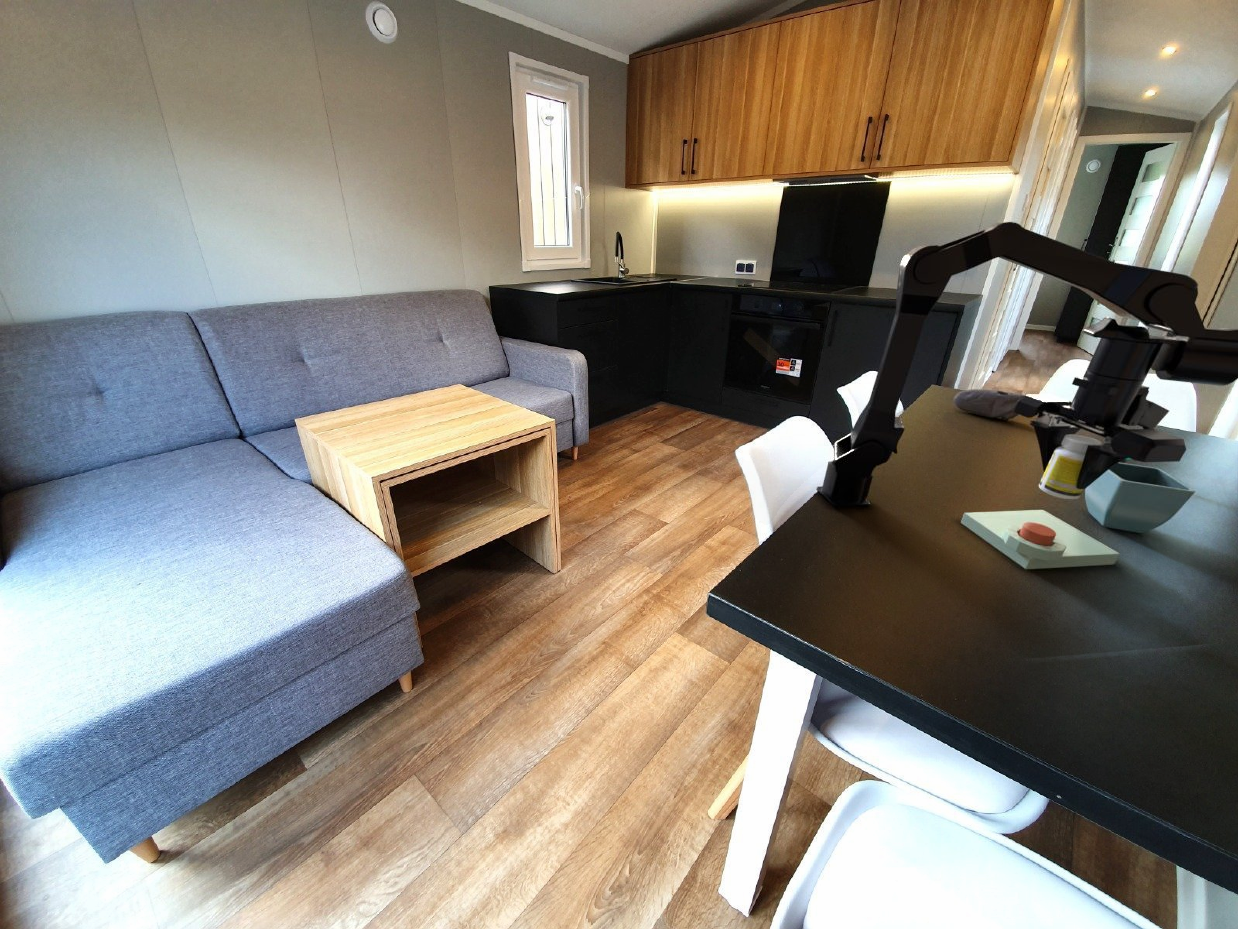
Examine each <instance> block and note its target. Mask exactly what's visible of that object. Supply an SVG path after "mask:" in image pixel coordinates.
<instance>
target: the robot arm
mask: <svg viewBox="0 0 1238 929" xmlns="http://www.w3.org/2000/svg"><path fill="white" fill-rule="evenodd" d="M997 258H1000V259H1002V260H1004V261H1007V262H1009V263H1012V264H1015V265H1018V266H1020V267H1023V268H1025V269H1027V270H1031V271H1033V272H1035V273H1038V274H1041V275H1043V276H1045V277H1048V278H1051V279H1053V280H1056V281H1059V282H1061V283H1064V284H1066V285H1068V286H1071V287H1073V288H1076V289H1079V290H1081V291H1082V292H1084V293H1085V294H1087V295H1088V296H1090V297H1091V298H1092V299H1093V300H1094V301H1096V302H1097V303H1098V304H1100V305H1101V306H1103V307H1105V309H1108V310H1110V312H1111V313H1114V314H1115V315H1117V316H1118V317H1121V318H1125V319H1129V320H1133V321H1136V322H1140V323H1141V324H1142V325H1144V326H1142V325H1141V326H1139V325H1127V324H1118V322H1117V319H1115V318H1112V317H1108V316H1106V317H1103V318H1102V319H1101V320H1099V321H1098V322H1096V323H1093V324H1091V325H1088V326H1086V327H1085V328H1082V333H1083V335H1087V336H1090V337H1092V338H1097V339H1099V342H1098V344H1097V346H1096V348H1095V350H1094V353H1093V355H1092V357H1091V359H1090V361H1089V363H1088V365H1087V368H1086V370H1085V372H1084V375H1083V376H1075V377H1074V378H1073V380H1072V383H1071V385H1073V386H1076V387H1078V388H1077V390H1076V392H1075V394H1074V397H1073V399H1072V401H1070V400H1067V399H1064V398H1061V397H1058V396H1056V395H1053V394H1024V397H1022V398H1021V399H1019V400H1018V401H1017V403H1016V406H1015V408H1014V411H1013V412H1014V413H1017V414H1019V415H1018V416H1022V417H1025V418H1027V419H1032V418H1034V417H1036V419H1035V420H1031V421H1030V422H1029V425H1030V426H1032V427H1033V430H1034V432H1035V436H1036V440H1037V444H1038V448H1039V453H1040V459H1041V464H1042V470H1043V473H1044V472H1045V470H1046V468H1047V466H1048V464H1049V461H1050V459H1051V457H1052V455H1053V453H1054V451H1055V449H1056V448H1057V447H1060V446H1062V445H1061V443H1062V441H1063V439H1064V437H1065V435H1068V434H1075V435H1077V433H1078V432H1079V431H1081V430H1084V431H1086V432H1089V433H1092V434H1094V435H1097V436H1100V437H1102V438H1105V439H1104V441H1103V442H1102V445H1088V447H1087V450H1086V453H1085V457H1084V460H1083V463H1082V466H1081V470H1080V473H1079V476H1078V480H1077V488H1078V489H1083V490H1085V488H1087V487H1088V486H1089V485H1090V484H1092V483H1093V482H1094V481H1095V480H1097V479H1098V478H1099V477H1100V476H1101V475H1103V474H1104V473H1105V472H1106V471H1107V470H1109V469H1110V468H1111V467H1113V466H1114V465H1116V464H1117V463H1119V462H1120V461H1122V460H1124V459H1126V458H1130V459H1131V460H1133V461H1136V462H1141V463H1170V462H1172V463H1175V462H1177V463H1179V462H1180V461H1181V459H1182V458H1183V456H1184V455H1185V453H1186V451H1187V444H1186V442H1185V439H1184V438H1181V437H1178V436H1175V435H1173V434H1169V433H1166V432H1163V431H1161V430H1157V429H1156V427H1157V426H1158V425H1159V424H1160V422H1162V421H1163V420H1164V418H1165V417H1166V416H1167V415H1168V414H1169V413H1170V409H1167V408H1166V407H1164V406H1161V405H1159V404H1158V403H1155V402H1154V401H1151V400H1149V399H1147V397H1148V395H1149V394H1150V390H1149V389H1150V387H1149V386H1145V385H1143V384H1144V382H1145V380H1146V379H1147V376H1148V375H1149V372H1150V370H1152V371H1154V372H1155V376H1156V377H1157V378H1158V379H1160V380H1162V381H1172V382H1180V383H1181V382H1182V383H1191V384H1200V385H1209V386H1218V387H1224V386H1227V385H1230V384H1232V383H1234V382H1236V381H1237V380H1238V327H1220V328H1219V327H1218V328H1216V327H1205V325H1204V322H1203V320H1202V317H1201V314H1200V312H1199V310H1198V307H1197V304H1196V302H1197V298H1198V296H1199V288H1198V287H1199V283H1198V282H1197V281H1196V279H1194V278H1193V277H1191V276H1190V275H1187V274H1182V273H1178V272H1173V271H1167V270H1162V269H1155V268H1149V267H1142V266H1137V265H1131V264H1124V263H1119V262H1115V261H1112V260H1109V259H1108V258H1104V257H1102V256H1100V255H1097V254H1093V253H1091V252H1089V251H1086V250H1083V249H1080V248H1077V247H1075V246H1072V245H1070V244H1067V243H1064V242H1062V241H1059V240H1057V239H1054V238H1051V237H1048V236H1045V235H1043V234H1040V233H1039V232H1035V231H1032V230H1030V229H1027V228H1025V227H1023V226H1022V225H1021V224H1019V223H1017V222H1014V221H1004V222H998V223H994V224H992V225H989V226H988V227H987V228H984V229H982V230H980V231H977V232H975V233H972V234H969V235H965V236H963V237H961V238H958V239H954V240H951V241H949V242H946V243H944V244H941V245H939V244H938V245H937V244H923V245H919V246H916V247H914V248H912V249H911V250H910V251H908V252H907V253H906V254H905V255H904V256H903V258H902V260H901V262H900V264H899V268H898V274H897V285H896V300H895V313H894V317H893V320H892V323H891V327H890V329H889V333H888V337H887V340H886V344H885V347H884V350H883V353H882V357H881V360H880V363H879V367H878V370H877V374H876V377H875V380H874V384H873V387H872V390H871V394H870V396H869V400H868V402H867V403H866V405H865V407H864V408H863V410H862V411H861V413H860V414H859V416H858V417H857V420H856V422H855V424H854V425H853V427H852V429H851V432H850V433H849V434H847V435H845V436H844V437H841V438H840V439H838V440H837V441H835V442H834V443H833V460H832V461H831V460H829V461H827V466H826V471H825V474H824V478H823V482H822V486H816V488H815V489H816V491H817V492H818V493H819V494H820V495H821V496H822V497H823V498H824V499H825V500H826V501H827V502H828V503H829V504H830V505H831V506H832V507H834V508H854V507H870V505H871V502H870V501H869V500H868V499H867V498H868V496H869V492H870V488H871V485H872V483H873V482H872V481H873V479H874V477H873V471H874V470H875V468H877V467H879V466H881V465H883V464H886V463H887V462H888V461H890V459H891V457H892V455H893V454H895V455H897V454H898V445H899V441H900V440H901V438H902V436H903V434H904V432H905V426H904V424H903V421H902V418H901V417H900V416H896V414H897V412H896V411H897V408H898V405H899V402H900V399H901V396H902V393H903V391H904V387H905V384H906V381H907V378H908V376H909V372H910V369H911V367H912V362H913V359H914V357H915V354H916V351H917V347H918V344H919V341H920V339H921V335H922V332H923V329H924V326H925V324H926V320H927V318H928V316H929V314H930V313H931V312H932V310H933V309H934V308H935V306H936V304H937V303H938V301H939V300H940V299H941V297H942V295H943V293H944V291H945V289H946V287H947V286H948V284H949V282H950V280H951V278H952V277H953V276H956V275H959V274H961V273H964V272H967V271H970V270H971V269H973V268H976V267H978V266H981V265H983V264H985V263H987V262H989V261H992V260H995V259H997ZM1148 328H1150V329H1155V330H1158V331H1160V332H1161V331H1162V332H1165V333H1166V335H1164V336H1163V335H1152V334H1150V332H1149V330H1148ZM1123 426H1127V427H1137V426H1138V427H1141V428H1126V427H1123Z"/></svg>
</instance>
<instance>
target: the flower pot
mask: <svg viewBox="0 0 1238 929" xmlns="http://www.w3.org/2000/svg"><path fill="white" fill-rule="evenodd" d="M1195 493H1196V490H1194V489H1193V488H1191V487H1190V486H1188V485H1187V484H1185V483H1183V482H1182V481H1180V480H1178V479H1177V478H1175V477H1174V476H1172V475H1171V474H1168V472H1166V471H1164V470H1163V469H1161V468H1159V467H1152V466H1147V465H1146V466H1145V465H1139V464H1131V463H1127V462H1126V463H1117V464H1116V465H1114V466H1113V467H1111V468H1110V469H1109V470H1107V471H1106V472H1105V473H1104V474H1103V475H1101V476H1100V477H1099V478H1098V479H1097V480H1095V481H1094V482H1093V483H1092V484H1090V485H1089V486H1088V487H1087V488H1085V489H1084V499H1085V504H1086V507H1087V508H1086V509H1087V511H1088V513H1089V514H1090V515H1091V516H1092V517H1093V518H1094V519H1095V520H1096V521H1097V522H1098V523H1099V524H1100V525H1101V526H1102V527H1104V528H1108V529H1115V530H1120V531H1126V532H1131V533H1137V534H1143V533H1146V532H1150V531H1152V530H1155V529H1156V528H1160V526H1161V527H1162V526H1163V525H1164V524H1166V523H1167V522H1168V521H1170V520H1171V519H1172V518H1173V517H1174V516H1176V514H1177V513H1178V512H1179V511H1180V510H1181V509H1182V508H1183V507H1184V505H1185V504H1186V503H1187V502H1188V501H1189V500H1190V498H1192V496H1193V495H1194V494H1195Z"/></svg>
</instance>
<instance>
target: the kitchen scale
mask: <svg viewBox="0 0 1238 929" xmlns="http://www.w3.org/2000/svg"><path fill="white" fill-rule="evenodd" d="M1026 522H1033V523H1038V524H1042V525H1045V526H1047V527H1049V528H1051V529H1052V530H1054V531H1055V532H1056V536H1055V538H1054V540H1053V542H1052V544H1051V545H1050V546H1042V545H1037V544H1034V543H1031V542H1029V541H1026V540H1025V539H1023V538H1022V537H1020V536H1019V533H1020V531H1021V529H1022V526H1023V524H1024V523H1026ZM960 523H961V524H962V525H963V526H965V527H966V528H967V529H969V530H970V531H972V532H973V533H975V534H976V535H977V536H979V537H980V538H981V539H983V540H984V541H985V542H987V543H988V544H990V545H991V546H993V547H994V548H995V549H996V550H998V551H1000V552H1001V553H1002V554H1004V555H1005V556H1007V557H1008V558H1009V559H1011V560H1012V561H1014V562H1015V563H1016V564H1017V565H1019V566H1020V567H1022V568H1024V569H1025V570H1036V569H1039V570H1040V569H1053V568H1074V567H1091V566H1106V565H1108V566H1109V565H1111V566H1112V565H1115V564H1116V562H1117V560H1118V558H1119V556H1120V555H1121V554H1120V552H1118V551H1116V550H1114V549H1113V548H1111V547H1110V546H1107V545H1106V544H1104V543H1102V542H1100V541H1098V540H1097V539H1095V538H1093V537H1092V536H1090V535H1088V534H1086V533H1084V532H1083V531H1081V530H1079V529H1078V528H1075V527H1074V526H1072V525H1071V524H1068V523H1067V522H1065V521H1063V520H1062V519H1060V518H1058V517H1056V516H1055V515H1053V514H1051V513H1050V512H1048V511H1046V510H1044V509H1030V510H1029V509H1027V510H1004V511H1003V510H1002V511H1001V510H1000V511H976V512H964V513H963V515H962V518H961V520H960Z"/></svg>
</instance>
